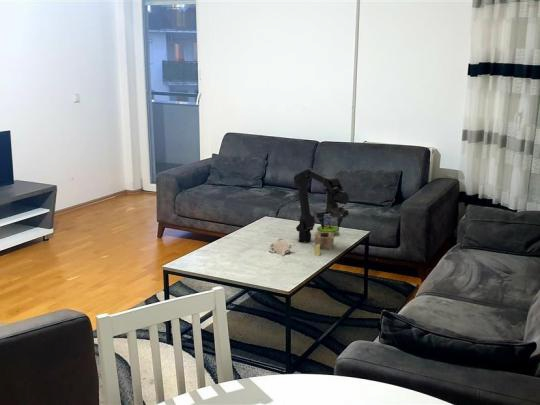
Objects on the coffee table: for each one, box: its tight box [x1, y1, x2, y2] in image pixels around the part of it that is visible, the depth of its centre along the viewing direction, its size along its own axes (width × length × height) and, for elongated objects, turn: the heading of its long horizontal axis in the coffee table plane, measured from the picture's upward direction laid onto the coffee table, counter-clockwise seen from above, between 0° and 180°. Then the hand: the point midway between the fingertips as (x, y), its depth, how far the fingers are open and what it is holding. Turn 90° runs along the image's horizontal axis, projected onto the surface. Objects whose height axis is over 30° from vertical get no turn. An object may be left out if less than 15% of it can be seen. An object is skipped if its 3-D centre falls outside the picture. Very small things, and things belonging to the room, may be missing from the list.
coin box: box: [314, 231, 335, 251], centre depth 344 cm, size 10×10×7 cm
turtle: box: [268, 237, 296, 257], centre depth 335 cm, size 16×10×10 cm, turn 68°
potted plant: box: [316, 215, 340, 234], centre depth 367 cm, size 14×13×15 cm
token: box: [314, 244, 321, 256], centre depth 332 cm, size 2×5×5 cm, turn 172°
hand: (330, 228), depth 336 cm, fingers open, 9 cm apart
